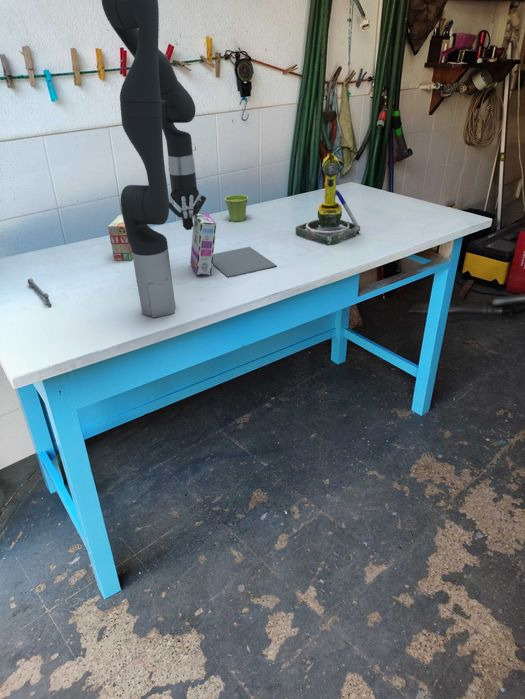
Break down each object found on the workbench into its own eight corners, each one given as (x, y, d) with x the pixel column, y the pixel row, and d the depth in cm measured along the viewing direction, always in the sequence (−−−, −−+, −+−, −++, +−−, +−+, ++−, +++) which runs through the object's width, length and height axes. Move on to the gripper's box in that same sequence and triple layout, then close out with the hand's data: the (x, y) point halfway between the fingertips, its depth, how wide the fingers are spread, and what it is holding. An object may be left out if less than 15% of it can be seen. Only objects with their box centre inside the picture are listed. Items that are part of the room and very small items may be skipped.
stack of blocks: (133, 239, 193) (127, 206, 187) (149, 239, 193) (144, 206, 186) (114, 261, 175) (107, 225, 169) (132, 261, 175) (126, 225, 168)
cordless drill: (290, 235, 192) (290, 156, 177) (325, 223, 202) (327, 148, 188) (329, 247, 180) (332, 164, 165) (363, 234, 191) (369, 154, 176)
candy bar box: (212, 275, 162) (217, 223, 154) (196, 275, 160) (200, 222, 153) (204, 263, 171) (208, 213, 163) (189, 262, 170) (193, 212, 162)
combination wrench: (26, 276, 158) (45, 297, 144) (30, 275, 159) (49, 295, 145) (29, 287, 160) (48, 309, 146) (33, 286, 161) (53, 307, 146)
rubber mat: (276, 266, 166) (276, 265, 166) (227, 277, 160) (227, 276, 160) (249, 248, 182) (249, 246, 182) (204, 257, 175) (203, 255, 175)
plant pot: (221, 219, 211) (219, 198, 206) (239, 214, 216) (237, 193, 211) (236, 224, 205) (234, 202, 200) (254, 219, 210) (253, 197, 205)
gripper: (164, 176, 146) (171, 236, 155) (208, 170, 151) (213, 228, 160) (156, 171, 151) (164, 229, 160) (198, 165, 156) (204, 222, 165)
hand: (188, 229), depth 160 cm, fingers closed
